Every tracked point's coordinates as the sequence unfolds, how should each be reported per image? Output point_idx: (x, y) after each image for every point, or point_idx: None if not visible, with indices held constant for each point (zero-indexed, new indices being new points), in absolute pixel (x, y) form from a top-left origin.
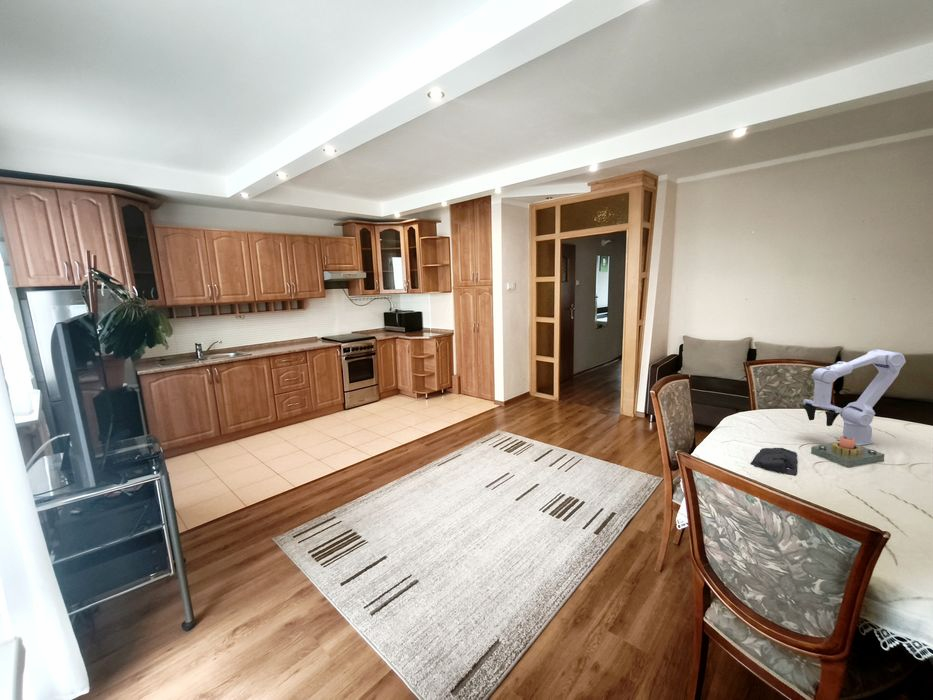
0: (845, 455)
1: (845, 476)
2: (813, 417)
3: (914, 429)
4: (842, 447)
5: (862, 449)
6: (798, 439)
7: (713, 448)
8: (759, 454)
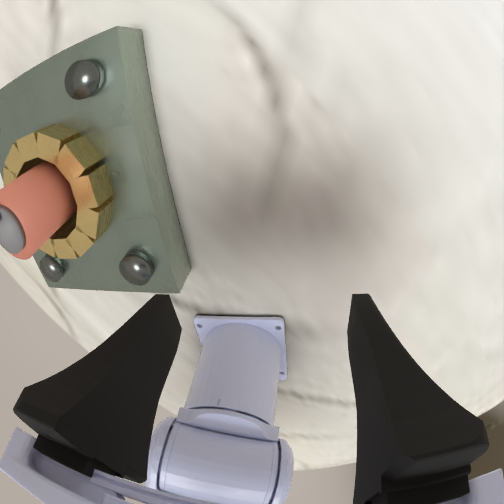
0: (15, 130)
1: None
2: (351, 349)
3: None
4: (25, 158)
5: None
6: (360, 139)
7: None
8: None
